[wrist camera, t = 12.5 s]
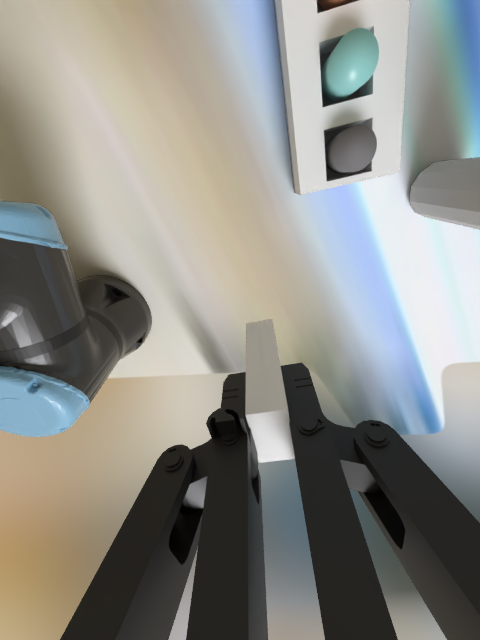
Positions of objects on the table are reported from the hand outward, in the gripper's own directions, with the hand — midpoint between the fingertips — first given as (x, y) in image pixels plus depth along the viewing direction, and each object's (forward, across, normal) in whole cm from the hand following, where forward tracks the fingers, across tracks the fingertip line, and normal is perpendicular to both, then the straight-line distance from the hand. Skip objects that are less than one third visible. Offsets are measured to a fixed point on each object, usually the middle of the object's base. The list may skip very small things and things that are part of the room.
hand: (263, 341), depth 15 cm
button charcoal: (+27, +13, +9) cm, 31 cm away
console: (+29, +13, +16) cm, 36 cm away
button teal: (+27, +13, +16) cm, 34 cm away
